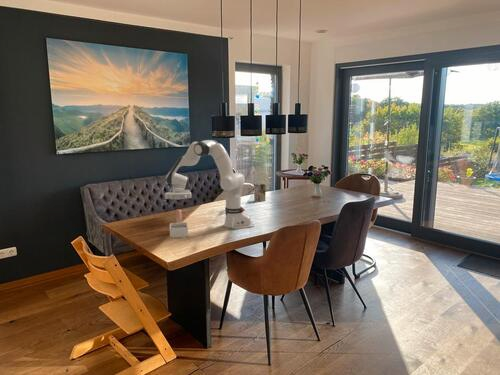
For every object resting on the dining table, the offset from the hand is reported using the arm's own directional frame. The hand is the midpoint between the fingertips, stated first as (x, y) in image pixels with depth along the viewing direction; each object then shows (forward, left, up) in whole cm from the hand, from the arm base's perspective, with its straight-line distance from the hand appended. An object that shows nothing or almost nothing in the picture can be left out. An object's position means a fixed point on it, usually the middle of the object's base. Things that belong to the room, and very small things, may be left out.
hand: (178, 197), depth 287 cm
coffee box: (-75, -64, -21) cm, 101 cm away
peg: (0, +12, -21) cm, 24 cm away
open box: (0, +26, -21) cm, 33 cm away
